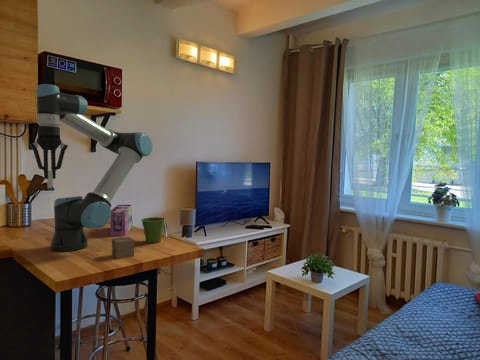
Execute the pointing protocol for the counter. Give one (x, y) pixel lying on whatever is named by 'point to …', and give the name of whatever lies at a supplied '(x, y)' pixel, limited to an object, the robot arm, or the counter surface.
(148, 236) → the plant pot
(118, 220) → the gum box
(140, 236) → the counter surface
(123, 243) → the block
